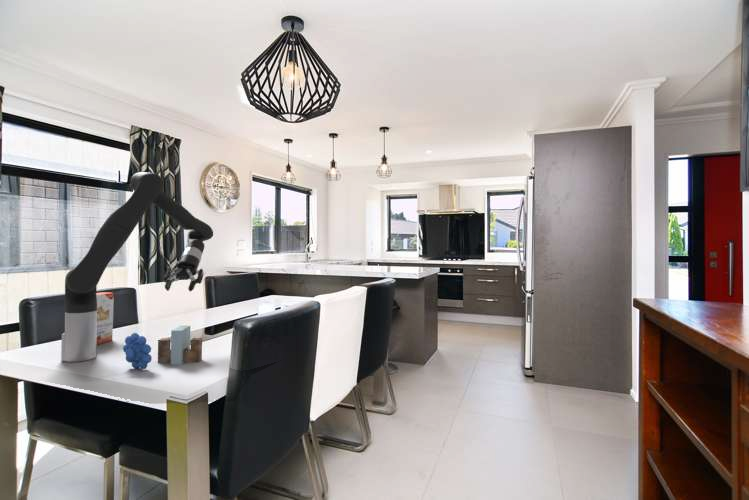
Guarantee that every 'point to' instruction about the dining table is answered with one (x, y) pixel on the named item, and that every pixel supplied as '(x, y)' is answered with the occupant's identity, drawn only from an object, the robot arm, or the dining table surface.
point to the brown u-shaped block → (188, 354)
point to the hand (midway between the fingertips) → (178, 289)
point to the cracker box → (104, 316)
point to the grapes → (137, 351)
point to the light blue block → (179, 343)
